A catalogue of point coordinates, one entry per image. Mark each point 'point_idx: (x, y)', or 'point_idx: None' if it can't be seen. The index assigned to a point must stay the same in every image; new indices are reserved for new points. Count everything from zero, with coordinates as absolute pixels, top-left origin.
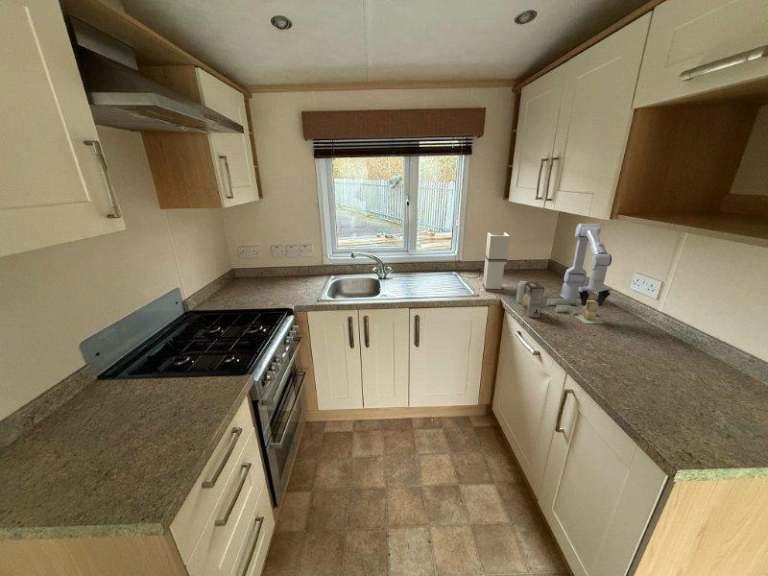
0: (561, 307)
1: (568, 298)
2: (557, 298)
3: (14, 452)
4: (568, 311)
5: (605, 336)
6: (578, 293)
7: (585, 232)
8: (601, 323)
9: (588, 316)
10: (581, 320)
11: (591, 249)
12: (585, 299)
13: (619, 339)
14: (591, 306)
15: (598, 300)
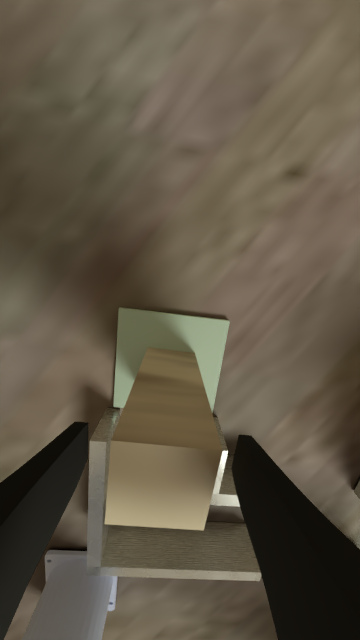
0: None
1: (141, 574)
2: (204, 578)
3: None
4: None
5: (240, 145)
6: (42, 623)
7: None
8: (134, 309)
9: (190, 362)
10: (222, 354)
11: None
12: (332, 530)
13: (187, 83)
14: (192, 414)
15: (59, 505)
